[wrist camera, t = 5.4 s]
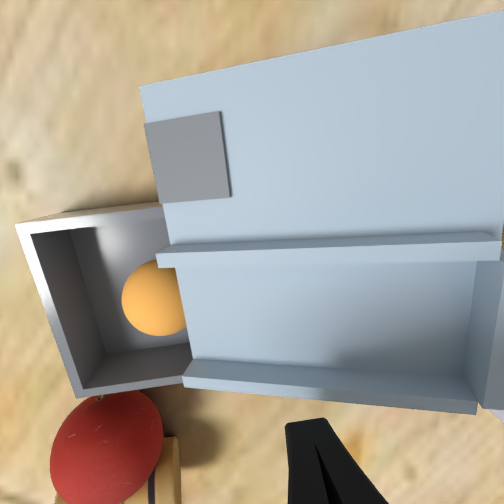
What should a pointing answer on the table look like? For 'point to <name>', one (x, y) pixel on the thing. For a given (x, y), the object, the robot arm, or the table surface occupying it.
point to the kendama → (115, 454)
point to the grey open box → (102, 296)
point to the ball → (153, 300)
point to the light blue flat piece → (342, 219)
